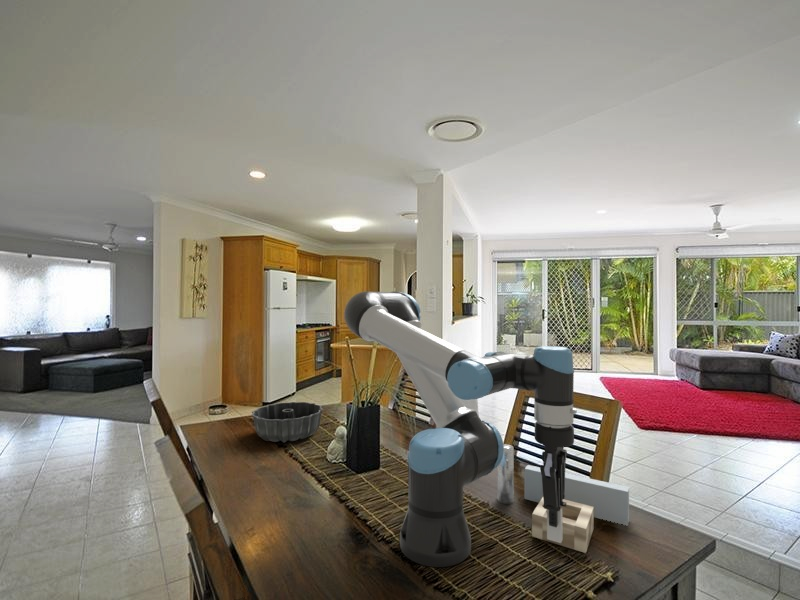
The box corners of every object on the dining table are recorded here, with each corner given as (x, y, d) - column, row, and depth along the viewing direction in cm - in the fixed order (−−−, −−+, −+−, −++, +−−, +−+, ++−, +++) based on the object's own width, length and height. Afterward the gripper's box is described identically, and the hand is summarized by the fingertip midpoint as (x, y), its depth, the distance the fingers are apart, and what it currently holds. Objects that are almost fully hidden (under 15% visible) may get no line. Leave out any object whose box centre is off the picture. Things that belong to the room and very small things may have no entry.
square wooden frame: (585, 553, 85) (586, 528, 85) (532, 536, 91) (532, 513, 91) (593, 528, 94) (593, 506, 94) (544, 514, 100) (544, 494, 100)
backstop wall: (627, 526, 96) (628, 491, 96) (524, 498, 109) (524, 468, 109) (628, 520, 98) (629, 487, 98) (527, 494, 111) (527, 464, 111)
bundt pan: (235, 443, 150) (235, 415, 150) (277, 422, 175) (277, 399, 175) (300, 451, 142) (300, 422, 142) (333, 428, 167) (334, 404, 167)
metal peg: (510, 505, 105) (510, 450, 105) (495, 501, 108) (495, 447, 108) (515, 499, 109) (515, 446, 109) (500, 495, 111) (500, 443, 111)
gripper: (567, 434, 76) (568, 562, 76) (579, 418, 87) (580, 530, 87) (526, 428, 81) (527, 549, 80) (542, 413, 91) (543, 520, 91)
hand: (554, 539), depth 84 cm, fingers closed
